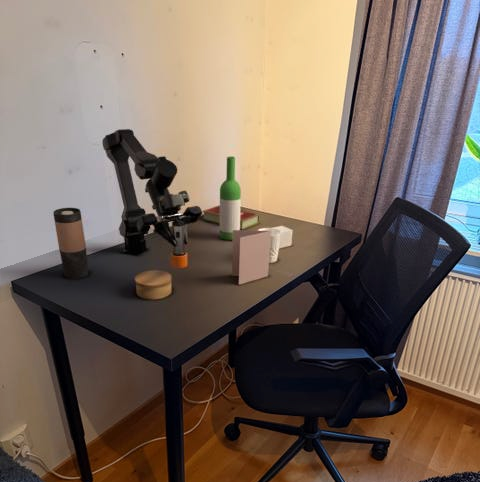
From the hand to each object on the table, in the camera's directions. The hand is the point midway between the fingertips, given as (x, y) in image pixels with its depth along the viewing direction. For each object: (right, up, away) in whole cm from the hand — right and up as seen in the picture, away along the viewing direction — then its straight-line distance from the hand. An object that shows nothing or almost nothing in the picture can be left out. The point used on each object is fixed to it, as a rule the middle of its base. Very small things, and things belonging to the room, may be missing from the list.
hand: (181, 245), depth 125 cm
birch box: (-8, -13, +4) cm, 16 cm away
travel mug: (-34, -7, +13) cm, 37 cm away
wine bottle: (+13, +9, +46) cm, 49 cm away
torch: (-1, -5, +4) cm, 7 cm away
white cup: (+26, -1, +28) cm, 38 cm away
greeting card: (+20, -9, +13) cm, 25 cm away
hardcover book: (+13, +18, +64) cm, 68 cm away
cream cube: (+32, +6, +41) cm, 52 cm away
